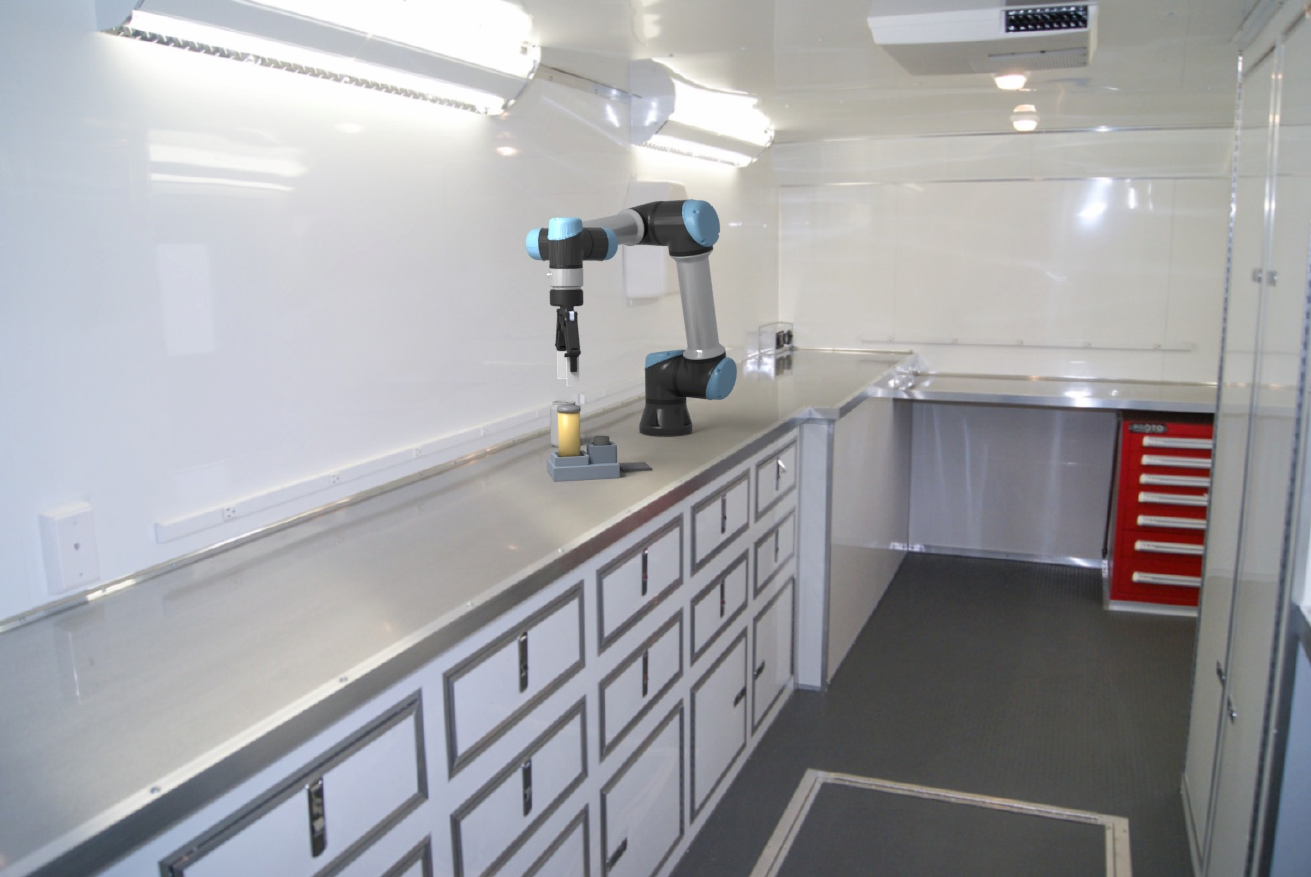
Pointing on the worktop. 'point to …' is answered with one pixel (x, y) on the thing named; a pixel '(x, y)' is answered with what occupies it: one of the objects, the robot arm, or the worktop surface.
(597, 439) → the plunger
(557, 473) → the housing
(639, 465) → the mat
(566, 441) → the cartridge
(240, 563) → the worktop surface
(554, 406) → the can
